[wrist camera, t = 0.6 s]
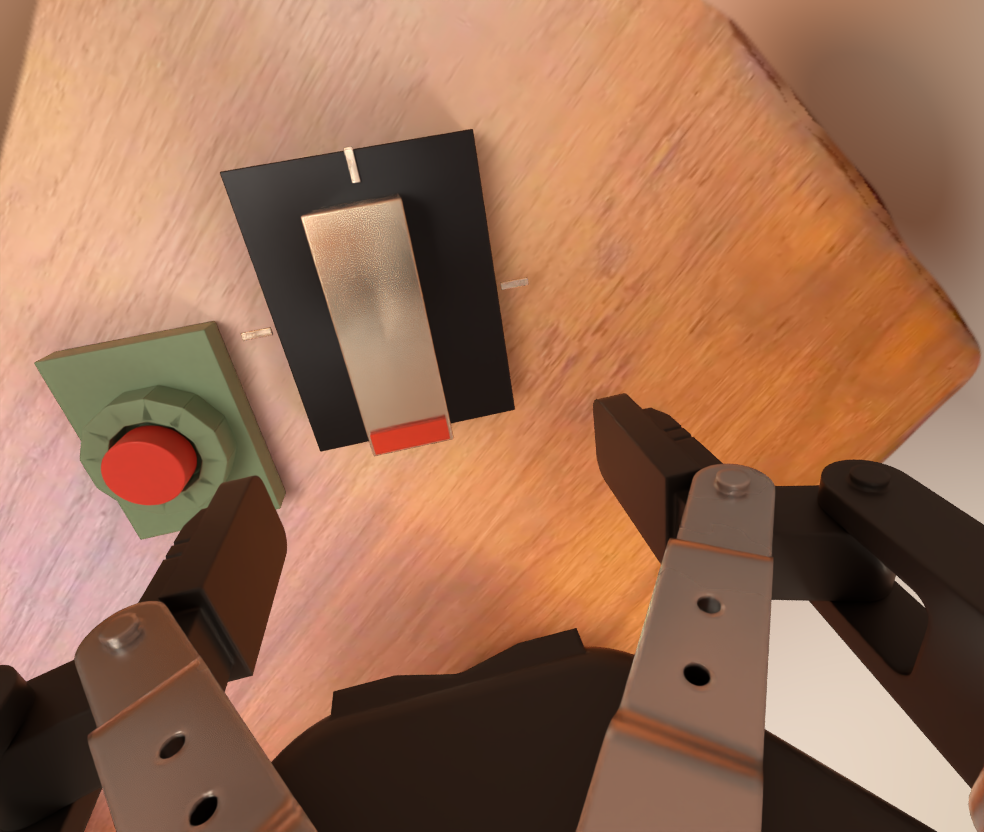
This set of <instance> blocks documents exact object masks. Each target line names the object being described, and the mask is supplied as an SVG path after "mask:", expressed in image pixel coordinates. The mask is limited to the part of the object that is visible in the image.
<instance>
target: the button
mask: <svg viewBox="0 0 984 832" xmlns="http://www.w3.org/2000/svg"><path fill="white" fill-rule="evenodd" d="M196 466H197V456H196V453H195V450H194V448H193V446H192V445H191V444H190V442H189V441H188V440H187V439H186V438H185V437H184V436H182V435H181V434H179V433H178V432H176V431H174V430H172V429H169V428H166V427H162V426H154V425H149V426H141V427H137V428H135V429H132V430H131V431H129V432H127V433H126V434H125V435H124V436H123V437H122V438H121V439H120V440H119V441H118V442H117V443H116V444H114V445H113V446H112V447H111V448H110V449H109V450H108V451H107V453H106V454H105V455H104V457H103V459H102V463H101V474H102V477H103V480H104V482H105V483H106V485H107V486H108V487H109V488H110V490H111V491H113V492H114V493H115V494H116V495H118V496H119V497H121V498H123V499H124V500H127V501H129V502H132V503H135V504H140V505H159V504H163V503H166V502H168V501H171V500H172V499H174V498H175V497H177V496H178V495H179V494H180V493H181V491H182V490H183V488H184V487H185V485H186V484H187V482H188V481H189V479H190V478H191V477H192V475H193V474H194V472H195V470H196Z"/></svg>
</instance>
